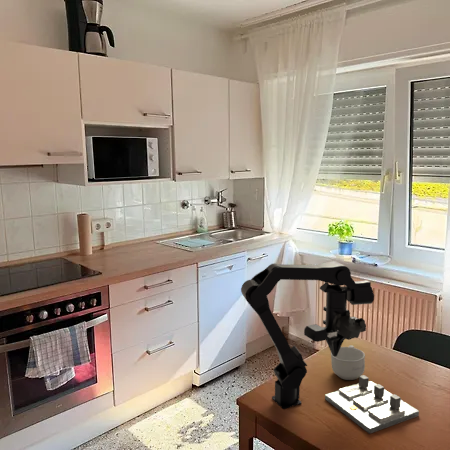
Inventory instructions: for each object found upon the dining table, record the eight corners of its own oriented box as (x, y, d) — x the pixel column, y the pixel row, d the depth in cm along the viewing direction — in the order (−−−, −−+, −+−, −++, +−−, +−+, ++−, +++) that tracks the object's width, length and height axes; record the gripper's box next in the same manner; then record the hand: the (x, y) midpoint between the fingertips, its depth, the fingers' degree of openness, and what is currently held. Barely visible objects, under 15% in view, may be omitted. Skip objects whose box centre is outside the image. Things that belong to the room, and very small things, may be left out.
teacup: (357, 387, 131) (358, 363, 130) (324, 377, 138) (325, 354, 137) (371, 370, 142) (372, 347, 141) (341, 361, 149) (341, 339, 148)
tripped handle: (379, 398, 120) (379, 388, 120) (373, 395, 122) (374, 385, 122) (383, 396, 121) (384, 387, 121) (378, 393, 123) (378, 384, 122)
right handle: (395, 409, 115) (395, 399, 114) (389, 405, 117) (390, 395, 116) (400, 407, 116) (400, 397, 115) (394, 404, 117) (394, 394, 117)
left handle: (363, 388, 126) (364, 379, 125) (358, 385, 127) (359, 376, 127) (368, 387, 126) (368, 377, 126) (363, 384, 128) (363, 374, 128)
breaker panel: (369, 433, 109) (369, 424, 108) (325, 399, 125) (325, 391, 124) (418, 415, 116) (419, 407, 116) (370, 385, 132) (371, 377, 132)
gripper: (328, 319, 111) (326, 375, 113) (381, 309, 119) (378, 361, 121) (303, 306, 121) (302, 358, 123) (353, 297, 129) (351, 346, 131)
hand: (334, 356), depth 124 cm, fingers closed
